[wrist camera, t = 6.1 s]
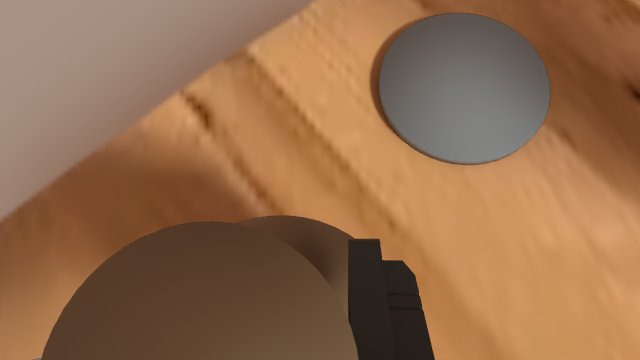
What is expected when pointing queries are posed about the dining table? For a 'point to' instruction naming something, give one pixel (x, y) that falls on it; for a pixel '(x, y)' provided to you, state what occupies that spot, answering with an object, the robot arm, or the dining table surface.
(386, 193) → the dining table surface
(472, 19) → the coaster
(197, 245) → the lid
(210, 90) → the dining table surface
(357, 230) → the dining table surface
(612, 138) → the dining table surface
